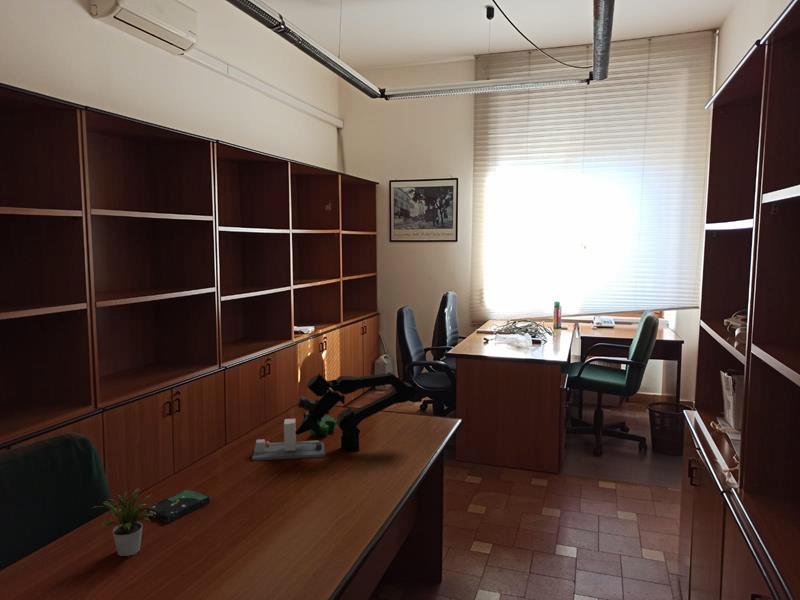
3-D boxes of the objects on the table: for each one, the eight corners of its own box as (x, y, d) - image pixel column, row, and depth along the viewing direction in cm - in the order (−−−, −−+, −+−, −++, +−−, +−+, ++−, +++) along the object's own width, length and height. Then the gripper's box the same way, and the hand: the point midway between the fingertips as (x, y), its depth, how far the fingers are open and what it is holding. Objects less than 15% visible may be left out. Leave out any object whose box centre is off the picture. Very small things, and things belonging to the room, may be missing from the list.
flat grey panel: (324, 444, 224) (323, 432, 224) (324, 456, 213) (324, 443, 212) (255, 448, 221) (255, 435, 220) (252, 460, 209) (251, 447, 208)
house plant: (108, 576, 138) (104, 512, 136) (84, 555, 147) (80, 494, 145) (165, 552, 149) (162, 491, 147) (140, 533, 158) (137, 476, 156)
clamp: (323, 446, 234) (322, 431, 229) (311, 441, 237) (309, 425, 232) (339, 428, 243) (339, 412, 238) (327, 422, 245) (327, 407, 240)
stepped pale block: (296, 445, 220) (295, 418, 219) (295, 451, 214) (295, 423, 213) (285, 445, 219) (284, 419, 218) (284, 451, 213) (284, 424, 212)
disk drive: (169, 525, 164) (211, 504, 176) (169, 516, 163) (210, 495, 176) (146, 516, 169) (188, 496, 182) (145, 507, 168) (187, 487, 181)
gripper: (310, 383, 224) (281, 411, 224) (310, 396, 206) (279, 427, 205) (330, 402, 226) (302, 430, 226) (332, 417, 208) (301, 448, 207)
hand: (296, 433), depth 216 cm, fingers closed, pressing on stepped pale block
